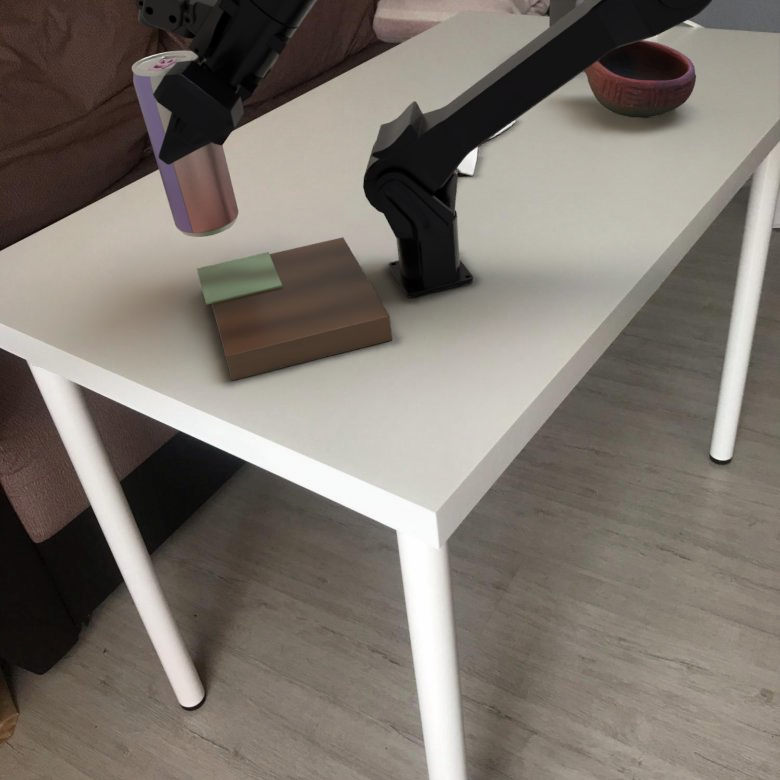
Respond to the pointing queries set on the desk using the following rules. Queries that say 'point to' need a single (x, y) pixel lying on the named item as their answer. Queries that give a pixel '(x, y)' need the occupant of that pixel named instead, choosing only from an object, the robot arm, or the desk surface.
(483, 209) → the desk surface
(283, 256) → the brown wooden board
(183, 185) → the beverage can
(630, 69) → the bowl
